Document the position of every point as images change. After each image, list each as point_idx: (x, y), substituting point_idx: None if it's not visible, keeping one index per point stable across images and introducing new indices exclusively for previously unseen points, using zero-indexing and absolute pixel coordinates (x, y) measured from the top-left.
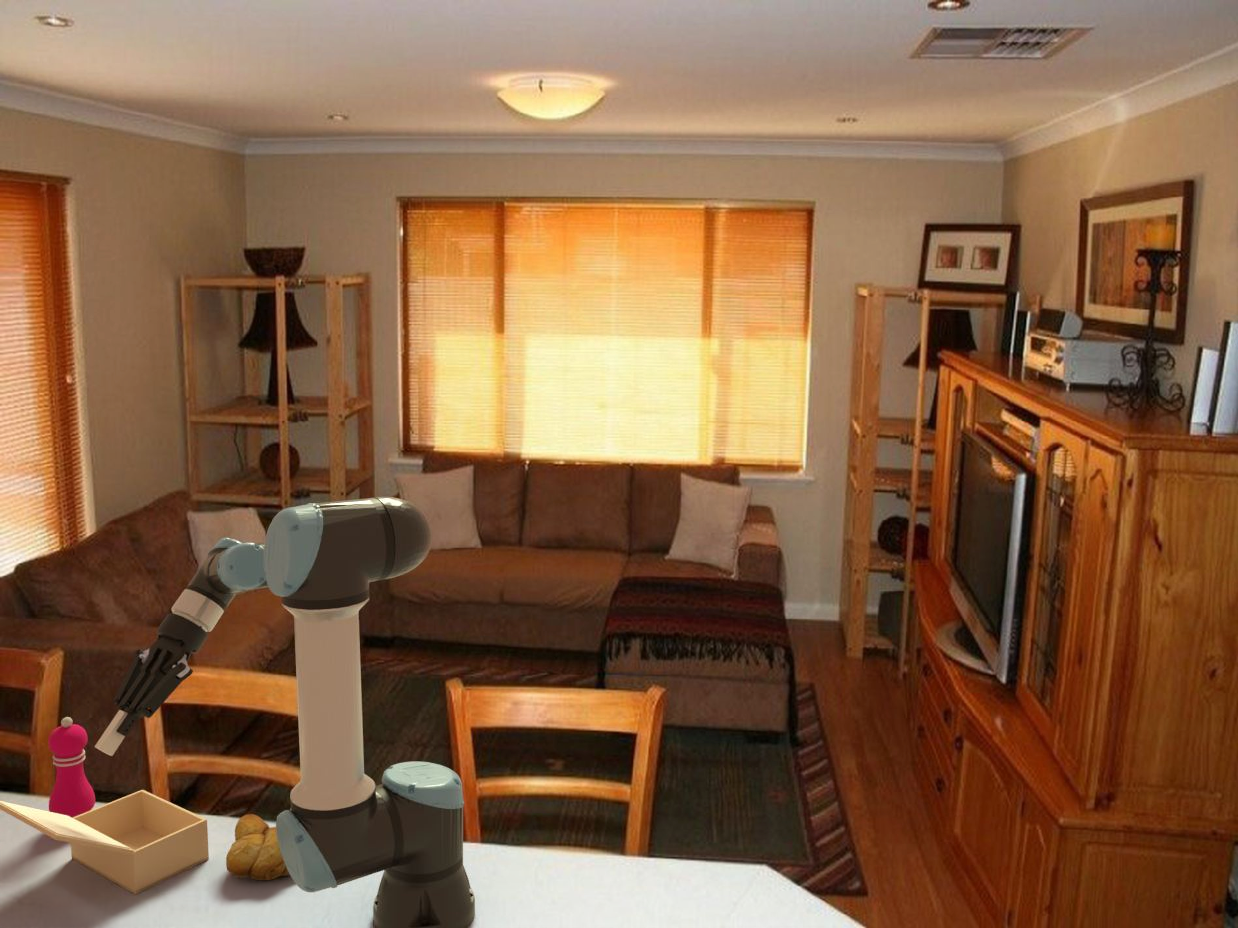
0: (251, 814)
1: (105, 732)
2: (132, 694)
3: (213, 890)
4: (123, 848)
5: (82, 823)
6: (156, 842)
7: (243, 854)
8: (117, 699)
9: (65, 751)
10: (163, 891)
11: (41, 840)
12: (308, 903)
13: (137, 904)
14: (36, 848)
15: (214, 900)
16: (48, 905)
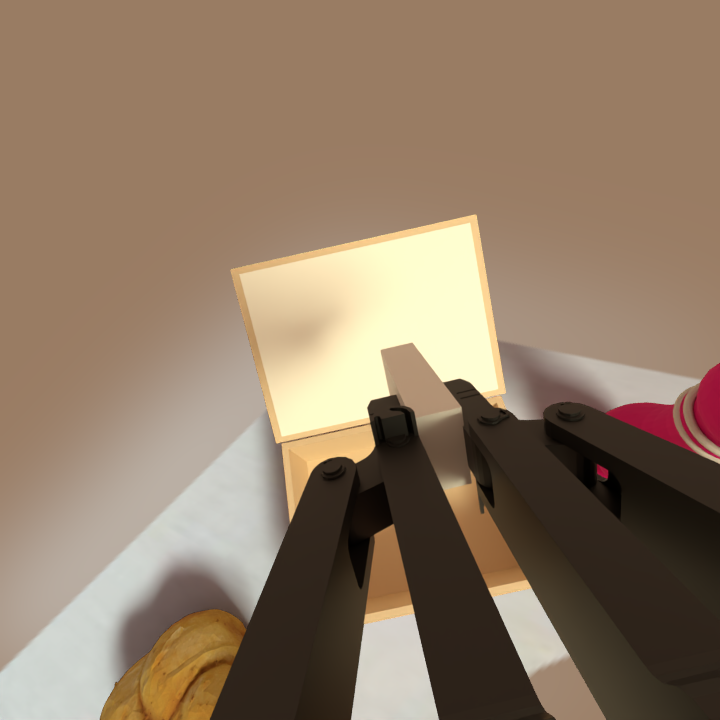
0: None
1: (419, 363)
2: (505, 484)
3: (218, 565)
4: (271, 419)
5: None
6: (287, 494)
7: (162, 641)
8: (559, 415)
9: (698, 389)
10: (278, 496)
11: (583, 399)
12: (46, 688)
13: (273, 450)
14: (555, 386)
15: (191, 551)
16: None
